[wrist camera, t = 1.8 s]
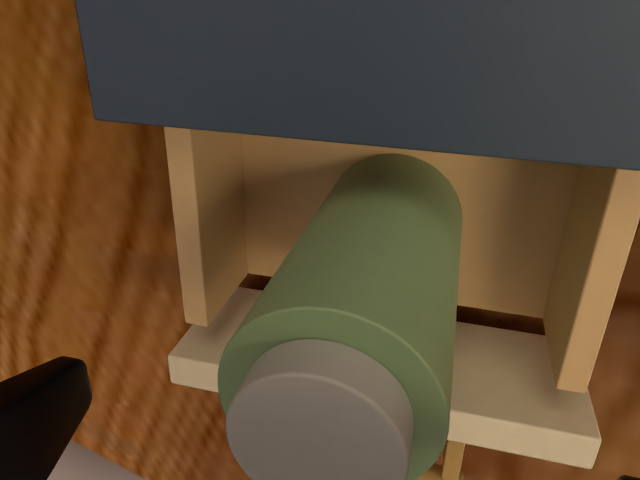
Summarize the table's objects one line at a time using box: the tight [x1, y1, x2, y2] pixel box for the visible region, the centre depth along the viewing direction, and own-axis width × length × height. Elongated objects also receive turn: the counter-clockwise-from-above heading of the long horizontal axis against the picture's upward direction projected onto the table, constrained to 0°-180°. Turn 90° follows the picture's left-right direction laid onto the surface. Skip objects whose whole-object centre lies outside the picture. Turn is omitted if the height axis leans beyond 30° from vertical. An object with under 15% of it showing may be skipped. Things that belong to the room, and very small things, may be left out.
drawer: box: [164, 127, 640, 480], centre depth 17 cm, size 18×13×5 cm
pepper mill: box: [218, 154, 462, 480], centre depth 13 cm, size 4×4×10 cm
